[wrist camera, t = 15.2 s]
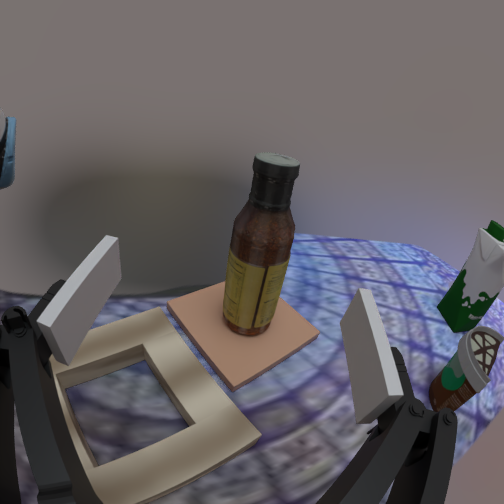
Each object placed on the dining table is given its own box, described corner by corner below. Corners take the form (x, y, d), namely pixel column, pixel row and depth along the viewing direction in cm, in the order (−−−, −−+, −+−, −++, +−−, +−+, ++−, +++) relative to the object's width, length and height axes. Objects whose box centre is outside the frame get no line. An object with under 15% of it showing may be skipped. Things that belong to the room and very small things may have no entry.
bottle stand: (27, 368, 21) (17, 352, 20) (160, 323, 32) (159, 306, 31) (89, 523, 11) (77, 521, 9) (254, 444, 22) (261, 434, 20)
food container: (442, 357, 35) (478, 311, 29) (465, 380, 31) (505, 336, 25) (408, 398, 28) (455, 349, 23) (436, 427, 24) (489, 382, 19)
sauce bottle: (266, 303, 38) (307, 156, 27) (274, 339, 33) (329, 176, 22) (217, 300, 36) (243, 144, 26) (219, 337, 31) (250, 162, 21)
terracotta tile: (167, 308, 35) (166, 301, 34) (249, 278, 44) (251, 271, 43) (232, 391, 27) (234, 386, 26) (317, 337, 35) (320, 331, 35)
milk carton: (456, 304, 48) (501, 223, 37) (476, 333, 41) (530, 250, 30) (431, 303, 47) (480, 214, 36) (453, 337, 39) (513, 243, 28)
